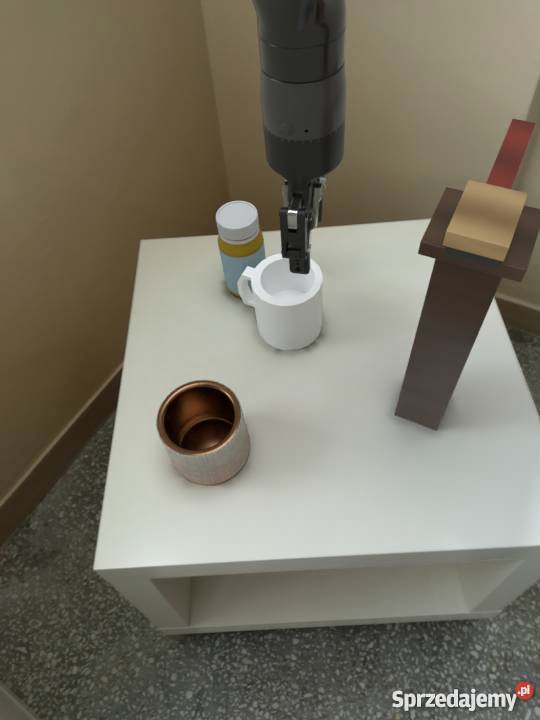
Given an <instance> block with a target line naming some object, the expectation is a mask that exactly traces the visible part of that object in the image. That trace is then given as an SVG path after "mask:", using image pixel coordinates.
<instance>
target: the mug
mask: <svg viewBox="0 0 540 720" xmlns="http://www.w3.org/2000/svg"><path fill="white" fill-rule="evenodd" d="M248 280H250V281H251V286H252V292H251V290H250V288H249V286H248ZM323 281H324V279H323V271H322V270H321V268H320V266H319V265H318V263H317V262H316V261H314V259H312V258H311V257H310V271H309V274H306V275H305V274H296V273H292V272H290V267H289V259H288V258H282V254H281V252H280V253H276V254H273V255H269V256H267V257H266V259H264V260H263V261H261V262H260V263H259V264H258V265H257V266H256V267H255V268H252V267H249V266H247V267H246V269H245V270H244V272H243V273H242V275H241V277H240V278H239V280H238V282H237V285H238V292H239V295H240V297H239V298H241V300H242V303H243V304H244V305H246V306H250V307H253V308H254V312H255V319H256V325H257V331H258V333H259V336H260V338H261V339H262V340H263V341H264V342H265V343H266V344H267V345H268V346H271V347H272V348H273V349H276V350H282V351H298V350H300V349H303V348H306V347H308V346H309V345H311V344H312V343H314V342H315V341H316V339H317V338H318V337H319V336H320V334H321V331H322V328H323V285H324V284H323V283H324V282H323ZM252 293H253V294H252Z"/></svg>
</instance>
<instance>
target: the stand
mask: <svg viewBox="0 0 540 720" xmlns="http://www.w3.org/2000/svg"><path fill="white" fill-rule="evenodd" d="M463 192H464V190H462V189H457V188H453V187H448V186H446V187H445V188H444V191H443V193H442V195H441V197H440V199H439V201H438V203H437V206H436V208H435V210H434V212H433V214H432V217H431V218H430V220H429V223H428V225H427V227H426V229H425V230H424V233H423V235H422V238H421V240H420V242H419V246H418V251H417V254H418V255H421V256H425V257H428V258H431V259H434V263H433V266H432V270H431V274H430V278H429V281H428V285H427V290H426V293H425V296H424V301H423V304H422V308H421V312H420V316H419V320H418V323H417V327H416V330H415V334H414V338H413V343H412V346H411V350H410V354H409V358H408V361H407V365H406V369H405V373H404V377H403V380H402V383H401V388H400V391H399V395H398V400H397V403H396V406H395V411H394V416H396V417H398V418H402V419H404V420H406V421H410V422H413V423H415V424H417V425H420V426H423V427H426V428H428V429H431V430H434V431H438V429H439V427H440V425H441V423H442V419H443V418H444V415H445V413H446V410H447V408H448V405H449V403H450V401H451V399H452V396H453V394H454V392H455V389H456V387H457V385H458V382H459V380H460V379H461V375H462V373H463V371H464V369H465V366H466V364H467V362H468V359H469V356H470V354H471V352H472V349H473V348H474V345H475V342H476V340H477V338H478V335H479V333H480V332H481V328H482V326H483V324H484V322H485V320H486V318H487V315H488V312H489V310H490V307H491V305H492V304H493V301H494V299H495V297H496V294H497V291H498V289H499V287H500V284H501V282H502V279H506V280H510V281H512V282H513V281H514V282H517V283H522V282H523V281H524V277H525V276H526V273H527V271H528V269H529V265H530V261H531V259H532V255H533V252H534V249H535V246H536V242H537V240H538V236H539V234H540V208H537V207H533V206H529V205H525V204H524V207H523V210H522V212H521V215H520V218H519V221H518V224H517V227H516V230H515V233H514V236H513V238H512V241H511V244H510V247H509V250H508V252H507V255H506V257H505V259H504V261H503V262H502V261H501V262H500V264H499V267H498V269H493V268H490V267H486V266H483V265H479V264H475V263H472V262H468V261H464V260H461V259H457V258H453V257H450V256H446V255H443V251H444V248H445V246H443V241H444V237H445V234H446V230H447V228H448V226H449V224H450V221H451V219H452V217H453V215H454V212H455V210H456V208H457V205H458V203H459V201H460V199H461V196H462V194H463Z"/></svg>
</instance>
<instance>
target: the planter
mask: <svg viewBox="0 0 540 720" xmlns="http://www.w3.org/2000/svg"><path fill="white" fill-rule="evenodd" d="M155 427H156V431H157V435H158V437H159V439H160V441H161V443H162V445H163V446H164V448H165V450H166V452H167V454H168V456H169V458H170V460H171V462H172V464H173V466H174V468H175V469H176V470H177V472H178V473H179V474H180V475H181V476H182V477H183V478H185V479H186V480H188V481H190V482H192V483H195V484H199V485H205V486H208V485H209V486H210V485H216V484H220V483H223V482H225V481H228V480H229V479H231V478H233V477H234V476H235V475H236V474H238V473H239V472H240V471H241V470H242V468H243V467H244V465H245V464H246V462H247V460H248V458H249V455H250V448H251V437H250V434H249V430H248V426H247V423H246V420H245V415H244V412H243V408H242V404H241V401H240V400H239V397H238V396H237V394H236V393H235V391H233V390H232V389H231V388H230V387H229V386H227V385H226V384H224V383H221V382H219V381H216V380H212V379H197V380H191V381H188V382H185V383H182V384H181V385H179V386H177V387H176V388H174V389H173V390H172V391H171V392H169V393H168V394H167V395H166V397H165V398H164V399H163V401H162V402H161V404H160V405H159V408H158V411H157V414H156V418H155Z"/></svg>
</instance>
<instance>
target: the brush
mask: <svg viewBox="0 0 540 720" xmlns="http://www.w3.org/2000/svg"><path fill="white" fill-rule="evenodd" d="M535 126H536V122H532V121H529V120H522V119H519V118H512V119H511V121H510V124H509V126H508V129H507V131H506V133H505V136H504V137H503V141H502V143H501V145H500V148H499V150H498V153H497V155H496V158H495V161H494V162H493V165H492V167H491V170H490V172H489V175H488V177H487V179H486V182H480V181H476V180H472V179H468V181H467V183H466V185H465V187H464V190H463V191H464V192H463V194H462V196H461V199H460V201H459V203H458V205H457V208H456V210H455V212H454V215H453V217H452V219H451V221H450V224H449V226H448V228H447V230H446V234H445V237H444V241H443V246H445V248H444V251H443V255H446V256H450V257H453V258H457V259H461V260H464V261H468V262H472V263H475V264H479V265H483V266H486V267H490V268H493V269H498V267H499V264H500V262H501V261H502V262H503V261H504V259H505V257H506V255H507V252H508V250H509V247H510V244H511V241H512V238H513V236H514V233H515V230H516V227H517V224H518V221H519V218H520V215H521V212H522V210H523V207H524V205H525V203H526V201H527V198H528V194H529V193H528V192H525V191H519V190H517V189H516V190H515V189H512V188H513V185H514V183H515V180H516V178H517V177H516V176H517V174H518V172H519V169H520V166H521V164H522V161H523V159H524V156H525V154H526V151H527V148H528V146H529V143H530V140H531V137H532V135H533V131H534V129H535Z"/></svg>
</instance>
